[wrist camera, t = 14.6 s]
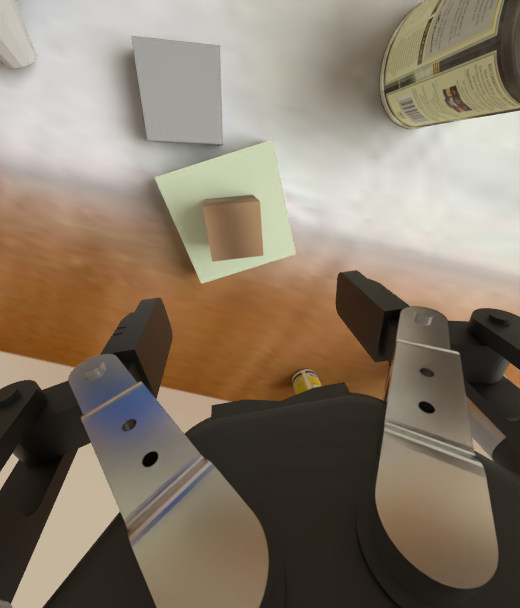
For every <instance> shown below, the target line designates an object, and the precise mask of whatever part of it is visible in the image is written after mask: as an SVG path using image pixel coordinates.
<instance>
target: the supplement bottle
mask: <svg viewBox="0 0 520 608" xmlns="http://www.w3.org/2000/svg"><path fill="white" fill-rule="evenodd" d="M292 384H293V387H294V390H295V393H296V395H297V394H299V393H302V392H304V391H306V390H309V389H311V388H315V387H320V386H322V385H321V383H320V381H319V379H318V377H317V374H316V373H315V372H314V371H313V370H310V369H304V370H301V371H299V372H297V373H296V374H295V375H294V376H293V378H292Z"/></svg>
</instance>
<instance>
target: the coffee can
mask: <svg viewBox="0 0 520 608" xmlns="http://www.w3.org/2000/svg"><path fill="white" fill-rule="evenodd" d="M380 94H381V99H382V103H383V106H384V108H385V110H386V112H387V114H388V115H389V117H390V118H391V119H392V120H393V121H394V122H395V123H396V124H398V125H400V126H402V127H405V128H408V129H417V128H422V127H426V126H431V125H437V124H442V123H448V122H454V121H460V120H466V119H471V118H477V117H484V116H490V115H496V114H502V113H507V112H514V111H519V110H520V0H426V1H424V2H423V3H421V4H419V5H418V6H417V7H415V8H414V9H413V10H411V11H410V12H409V13H408V14H407V15H406V17H405V18H404V19H403V20H402V21H401V23H400V24H399V25H398V27H397V28H396V30H395V32H394V33H393V35H392V37H391V39H390V41H389V43H388V46H387V48H386V51H385V55H384V58H383V61H382V67H381V73H380Z"/></svg>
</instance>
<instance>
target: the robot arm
mask: <svg viewBox="0 0 520 608" xmlns="http://www.w3.org/2000/svg"><path fill="white" fill-rule="evenodd" d="M336 309H337V313H338V315H339V316H340V318H341V319H342V320H343V321H344V323H345V324H346V325H347V327H348V328H349V329H350V331H351V332H352V333H353V334H354V336H355V337H356V338H357V340H358V341H359V342H360V344H361V345H362V346H363V347H364V349H365V350H366V351H367V353H368V354H369V355H370V356H371V358H372V359H373V360H374V362H380V361H386V360H388V362H389V366H388V371H387V377H386V382H385V388H384V394H383V399H382V400H380V399H378V398H375V397H372V396H368V395H364V394H359V393H350V392H349V390H348V388H347V387H346V385H345V383H344V382H343V383H337V384H332V385H326V386H320V387H315V388H311V389H309V390H306V391H304V392H302V393H299V394H297V395H295V396H292V397H290V398H288V399H285V400H282V401H265V400H240V401H234V402H229V403H223V404H217V405H212V414H211V417H210V418H208V419H205V420H204V421H202V422H200V423H198V424H197V425H196V426H194V427H192V428H191V429H190V430H189V431H187V432H186V433H185V434H184V433H183V432H182V431H181V430H180V428H179V427H178V426H177V424H176V423H175V422H174V421H173V420H172V418H171V417H170V416H169V415H168V413H167V412H166V411H165V410H164V409H163V407H162V406H161V405H160V404H159V402H158V401H157V400H156V398H157V395H158V391H159V387H160V384H161V380H162V376H163V373H164V369H165V365H166V361H167V358H168V354H169V350H170V346H171V343H172V329H171V325H170V322H169V319H168V316H167V313H166V310H165V307H164V304H163V301H162V299H161V298H153V299H146V300H141V302H140V303H139V305H138V307H137V309H136V310H135V312H133V313H130V314H129V315H127V316H126V317H125V318H124V319H122V320H121V322H120V323H119V325H118V327H117V329H116V330H115V332H114V333H113V336H111V338H110V340H109V341H108V343H107V344H106V346H105V348H104V349H103V351H102V353H101V354H100V355H98V356H95V357H92V358H90V359H87V360H86V361H84V362H82V363H81V364H79V365H78V366H77V367H76V368H75V369H74V370H73V371H72V372H71V374H70V375H69V379H68V381H66V382H63V383H60V384H58V385H55V386H52V387H49V388H47V389H44V390H41V388H40V387H39V386H38V384H37V383H36V382H35V381H32V380H24V381H19V382H16V383H13V384H10V385H8V386H6V387H4V388H1V389H0V471H1V470H2V468H3V467H4V465H5V464H6V462H7V461H8V459H9V457H10V456H11V454H12V453H13V454H14V455H15V456H16V457H17V458H18V459H19V461H18V462H17V464H16V466H15V467H14V469H13V471H12V472H11V474H10V476H9V477H8V479H7V480H6V482H5V483H4V485H3V487H2V488H1V490H0V608H12V606H11V602H12V600H13V597H14V595H15V593H16V591H17V588H18V586H19V584H20V581H21V579H22V577H23V575H24V572H25V570H26V567H27V565H28V563H29V561H30V558H31V556H32V554H33V551H34V549H35V547H36V544H37V542H38V540H39V538H40V535H41V533H42V531H43V528H44V526H45V524H46V521H47V519H48V517H49V514H50V512H51V510H52V508H53V505H54V503H55V501H56V498H57V496H58V494H59V492H60V489H61V487H62V485H63V482H64V480H65V478H66V475H67V473H68V471H69V468H70V466H71V464H72V462H73V459H74V457H75V455H76V452H77V450H78V448H80V447H82V446H84V445H87V444H89V443H91V444H92V446H93V448H94V451H95V453H96V455H97V458H98V460H99V462H100V465H101V467H102V469H103V472H104V474H105V477H106V479H107V481H108V484H109V486H110V488H111V490H112V493H113V495H114V498H115V500H116V502H117V505H118V507H119V509H120V512H119V513H118V515H117V516H116V517H115V518H114V520H113V521H112V522H111V523H110V525H109V526H108V527H107V528H106V530H105V531H104V532H103V533H102V535H101V536H100V537H99V538H98V539H97V541H96V542H95V543H94V544H93V546H92V547H91V548H90V550H89V551H88V552H87V553H86V554H85V556H84V557H83V558H82V559H81V561H80V562H79V563H78V564H77V566H76V567H75V568H74V569H73V570H72V572H71V573H70V574H69V576H68V577H67V578H66V579H65V580H64V582H63V583H62V584H61V585H60V587H59V588H58V589H57V590H56V592H55V593H54V594H53V595H52V597H51V598H50V599H49V600H48V601H47V603H46V604H45V605H44V606H43V608H520V389H519V388H518V387H517V386H516V385H514V384H513V383H512V382H511V381H509V380H508V379H507V377H506V376H505V375H504V372H505V371H506V369H507V367H508V365H509V363H511V364H513V365H514V366H515V367H517V368H518V369H520V317H519V316H517V315H515V314H512V313H509V312H506V311H503V310H498V309H490V308H483V309H477V310H475V311H474V312H473V313H472V315H471V318H470V321H469V322H466V321H448V320H447V318H446V317H445V316H444V315H443V314H442V313H440V312H438V311H436V310H433V309H430V308H426V307H420V306H412V307H410V306H409V305H408V304H406V303H405V302H404V301H402V300H401V299H400V298H399V297H397V296H396V295H395V294H393V293H392V292H391V291H389V290H387V288H385V287H384V286H383V285H382V284H380V283H378V282H376V281H373V280H371V279H367V278H366V277H365V276H363V275H362V274H361V273H360V272H358V271H357V270H354V271H347V272H340V273H339V274H338V278H337V292H336ZM472 438H473V439H474V440H475V441H476V442H477V443H478V444H479V445H480V446H481V448H482V449H483V450H484V451H485V452H486V453H487V454H488V455H489V456H490V457H491V458H492V459H493V461H492V460H490V459H488V458H486V457H485V456H483V455H481V454H479V453H478V452H476V451H474V448H473V440H472Z"/></svg>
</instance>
